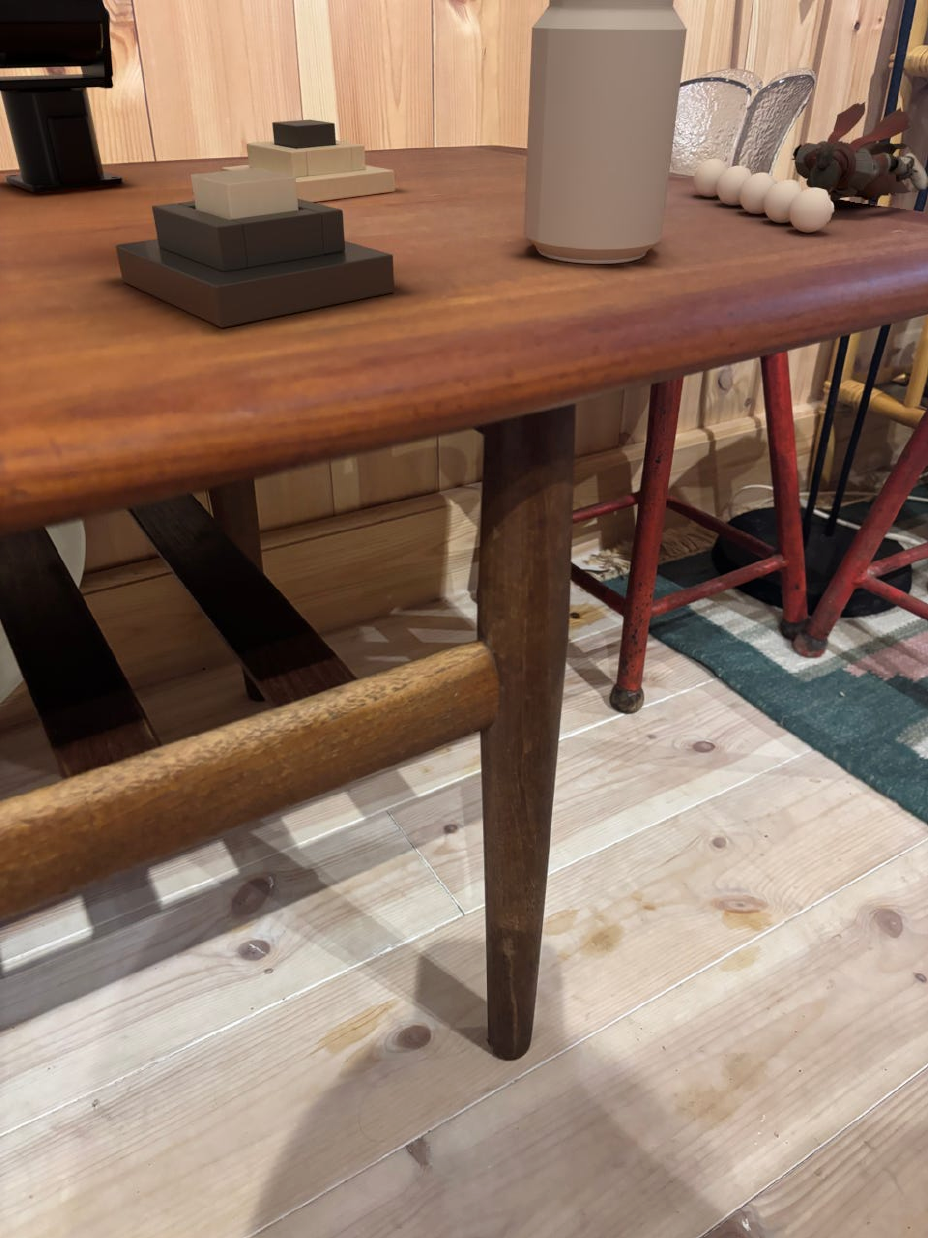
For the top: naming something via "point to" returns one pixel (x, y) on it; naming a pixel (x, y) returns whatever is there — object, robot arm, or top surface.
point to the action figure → (860, 160)
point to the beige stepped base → (322, 169)
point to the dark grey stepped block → (253, 263)
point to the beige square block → (244, 193)
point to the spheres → (765, 195)
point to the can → (601, 127)
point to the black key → (304, 134)
